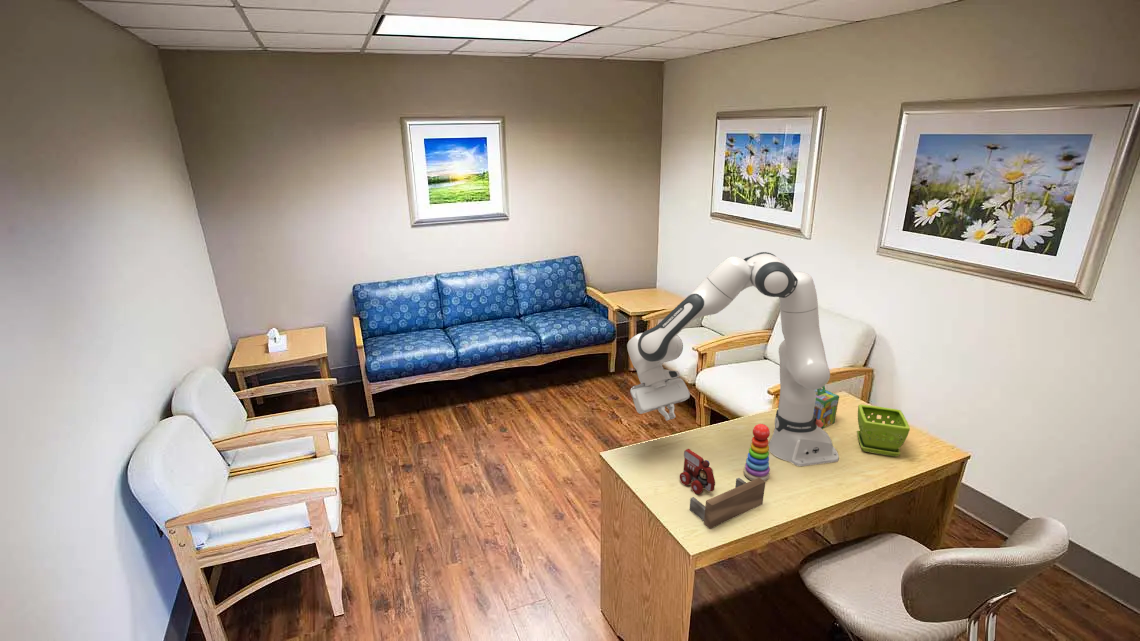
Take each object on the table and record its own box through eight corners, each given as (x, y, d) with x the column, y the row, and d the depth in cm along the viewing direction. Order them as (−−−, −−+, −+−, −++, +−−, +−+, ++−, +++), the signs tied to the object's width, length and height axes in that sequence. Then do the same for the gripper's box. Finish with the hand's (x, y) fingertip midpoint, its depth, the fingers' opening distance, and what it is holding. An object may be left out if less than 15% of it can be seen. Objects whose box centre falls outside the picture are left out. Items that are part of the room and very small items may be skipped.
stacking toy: (740, 468, 181) (746, 417, 175) (764, 468, 181) (771, 418, 175) (746, 482, 174) (753, 431, 167) (772, 483, 173) (779, 431, 167)
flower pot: (903, 461, 184) (911, 428, 179) (857, 454, 188) (863, 421, 184) (894, 440, 196) (901, 408, 192) (851, 433, 200) (857, 402, 196)
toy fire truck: (703, 500, 166) (706, 471, 163) (675, 479, 176) (677, 451, 172) (719, 492, 170) (722, 463, 166) (691, 472, 179) (693, 444, 176)
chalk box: (821, 429, 203) (827, 394, 198) (799, 419, 210) (804, 384, 205) (835, 422, 208) (842, 387, 203) (814, 412, 215) (819, 378, 210)
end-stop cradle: (687, 510, 162) (689, 487, 159) (739, 487, 172) (741, 465, 169) (709, 529, 154) (712, 505, 151) (762, 504, 164) (765, 481, 161)
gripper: (632, 383, 176) (649, 424, 171) (682, 370, 185) (699, 408, 181) (624, 390, 181) (640, 430, 176) (672, 377, 191) (689, 414, 186)
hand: (671, 419), depth 179 cm, fingers closed
